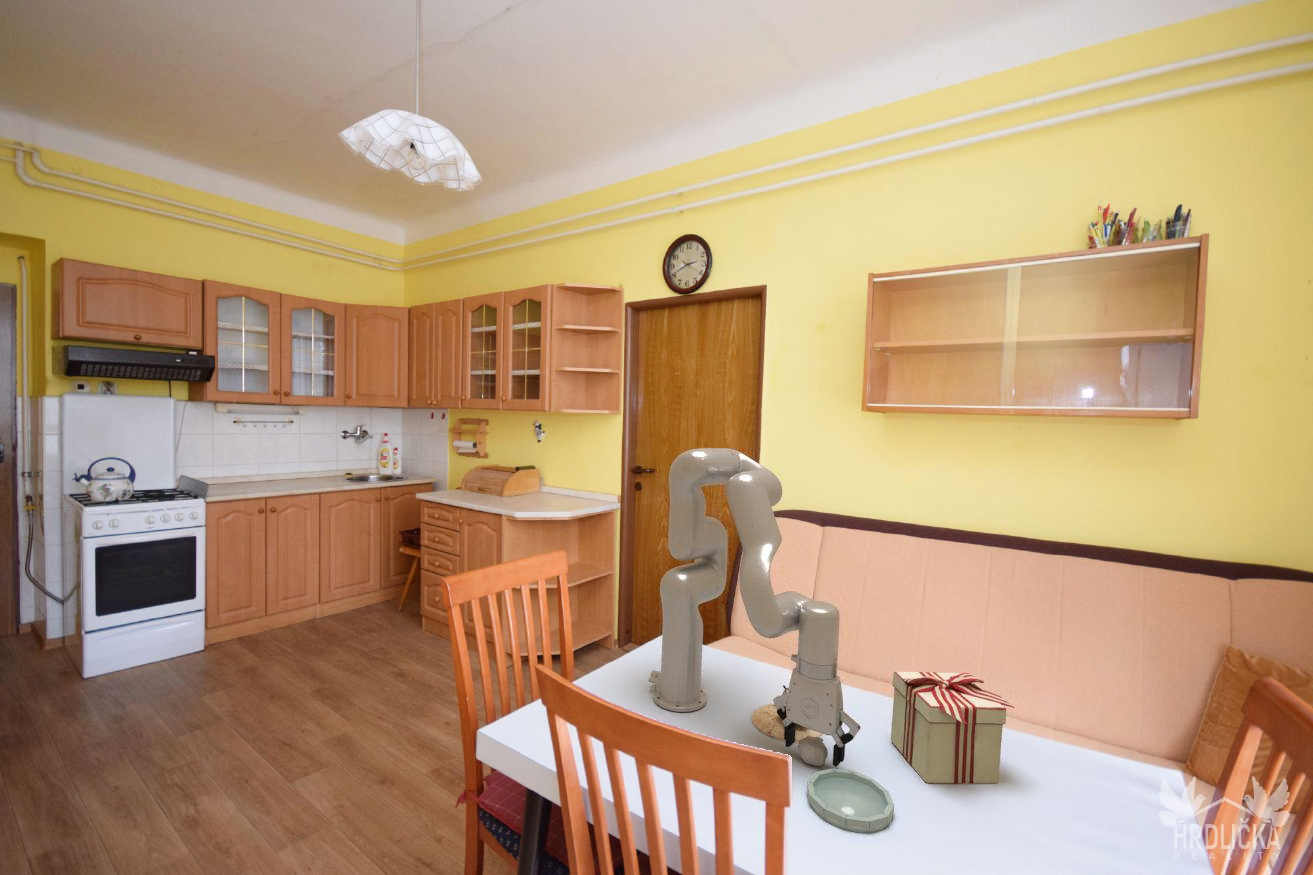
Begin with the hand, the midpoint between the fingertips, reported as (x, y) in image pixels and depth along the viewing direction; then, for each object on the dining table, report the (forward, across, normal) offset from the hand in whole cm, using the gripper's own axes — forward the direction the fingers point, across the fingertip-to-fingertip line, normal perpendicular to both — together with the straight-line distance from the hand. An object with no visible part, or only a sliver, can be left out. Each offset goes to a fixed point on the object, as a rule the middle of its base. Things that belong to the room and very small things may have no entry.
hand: (813, 753), depth 113 cm
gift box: (+2, +21, +17) cm, 27 cm away
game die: (+2, -9, +12) cm, 15 cm away
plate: (+2, +10, -8) cm, 13 cm away
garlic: (+2, 0, 0) cm, 2 cm away
